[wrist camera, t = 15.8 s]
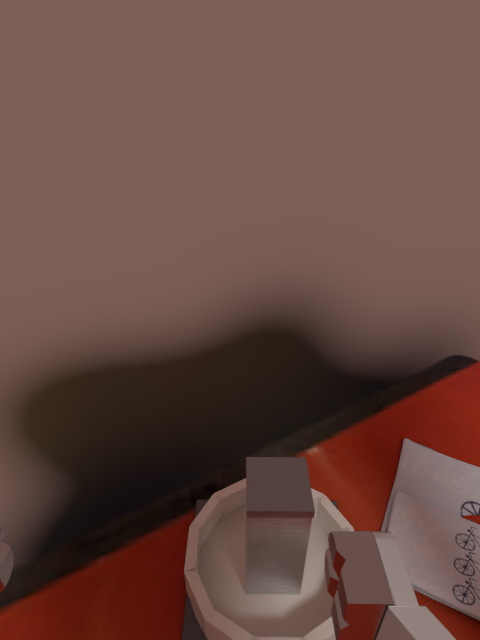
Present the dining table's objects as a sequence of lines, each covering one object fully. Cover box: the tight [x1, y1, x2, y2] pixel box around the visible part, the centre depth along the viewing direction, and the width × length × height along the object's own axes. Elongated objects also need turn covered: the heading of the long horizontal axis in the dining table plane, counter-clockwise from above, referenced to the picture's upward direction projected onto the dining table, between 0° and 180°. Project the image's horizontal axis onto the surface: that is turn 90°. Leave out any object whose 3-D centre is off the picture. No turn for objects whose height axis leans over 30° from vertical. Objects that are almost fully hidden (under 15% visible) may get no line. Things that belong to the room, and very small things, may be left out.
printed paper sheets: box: [381, 438, 480, 621], centre depth 44 cm, size 19×20×2 cm
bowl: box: [184, 478, 354, 640], centre depth 39 cm, size 16×16×4 cm
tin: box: [245, 457, 315, 595], centre depth 36 cm, size 5×5×12 cm
